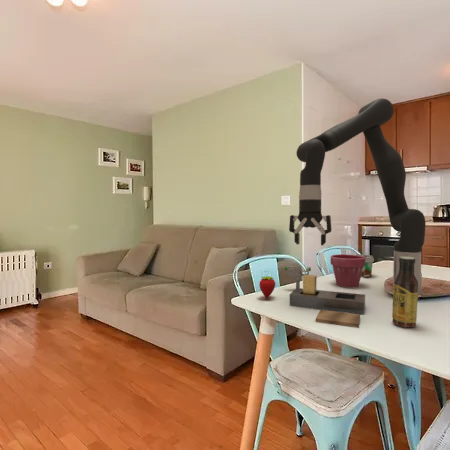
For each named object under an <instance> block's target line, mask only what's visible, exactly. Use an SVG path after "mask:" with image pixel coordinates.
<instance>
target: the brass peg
mask: <svg viewBox="0 0 450 450" xmlns="http://www.w3.org/2000/svg"><path fill="white" fill-rule="evenodd" d="M317 279H318V278H317V275H315V274H314V275H313V274H309V275H304V276H302V289H303V294H304V295H314V296H316V290H317Z"/></svg>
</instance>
